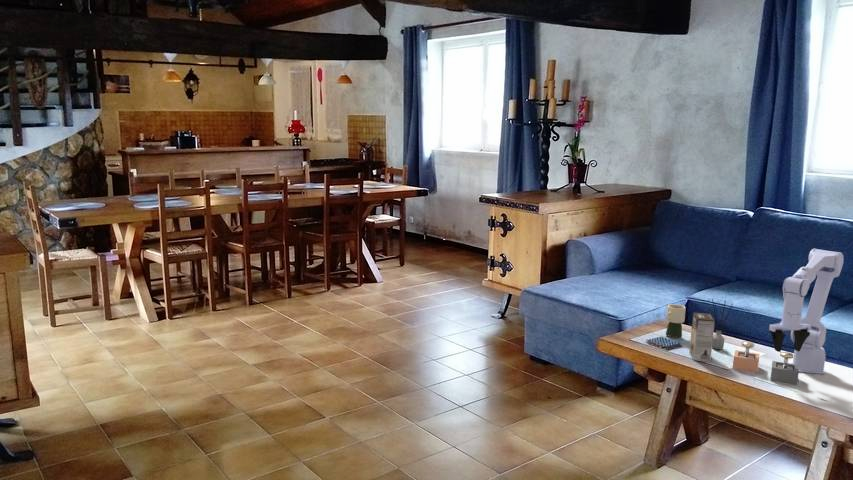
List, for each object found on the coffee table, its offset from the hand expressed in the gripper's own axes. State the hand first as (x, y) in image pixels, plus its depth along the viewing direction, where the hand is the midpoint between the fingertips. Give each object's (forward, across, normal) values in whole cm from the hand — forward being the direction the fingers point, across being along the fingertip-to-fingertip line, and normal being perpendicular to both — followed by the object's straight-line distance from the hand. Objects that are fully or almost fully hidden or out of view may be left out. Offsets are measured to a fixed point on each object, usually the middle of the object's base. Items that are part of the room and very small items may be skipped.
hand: (787, 350), depth 230 cm
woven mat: (+11, +23, -39) cm, 47 cm away
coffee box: (+11, +17, -24) cm, 31 cm away
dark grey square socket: (+10, 0, 0) cm, 10 cm away
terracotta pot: (+10, +6, -12) cm, 17 cm away
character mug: (+11, +14, -48) cm, 51 cm away
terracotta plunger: (+7, +6, -12) cm, 15 cm away
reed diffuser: (+11, +5, -33) cm, 35 cm away
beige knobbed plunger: (+7, 0, 0) cm, 7 cm away
